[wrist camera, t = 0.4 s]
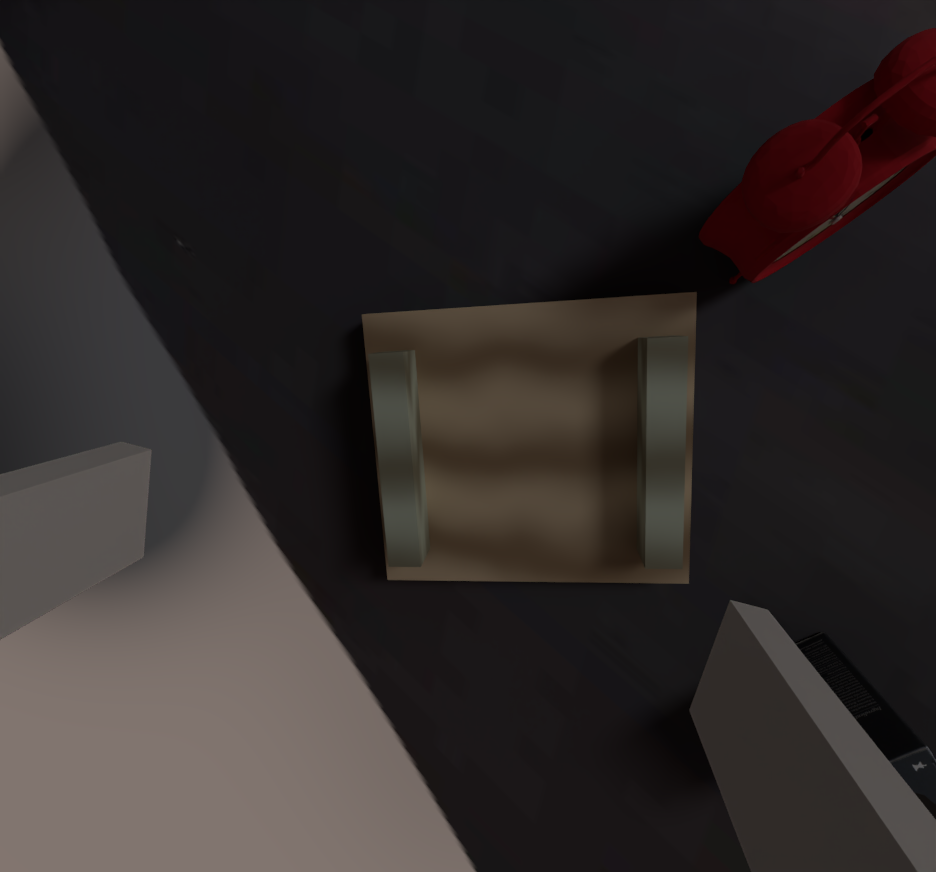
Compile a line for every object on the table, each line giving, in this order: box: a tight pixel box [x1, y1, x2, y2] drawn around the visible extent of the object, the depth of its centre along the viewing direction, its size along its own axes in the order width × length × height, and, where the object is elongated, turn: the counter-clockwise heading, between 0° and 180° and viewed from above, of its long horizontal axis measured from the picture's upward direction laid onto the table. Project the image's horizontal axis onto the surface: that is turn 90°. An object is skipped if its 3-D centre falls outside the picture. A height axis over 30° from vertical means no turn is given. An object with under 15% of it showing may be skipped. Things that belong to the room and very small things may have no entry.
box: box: [796, 632, 936, 805], centre depth 33 cm, size 8×6×11 cm
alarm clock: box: [699, 28, 936, 284], centre depth 25 cm, size 10×6×15 cm, turn 126°
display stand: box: [362, 292, 697, 584], centre depth 34 cm, size 19×21×6 cm
